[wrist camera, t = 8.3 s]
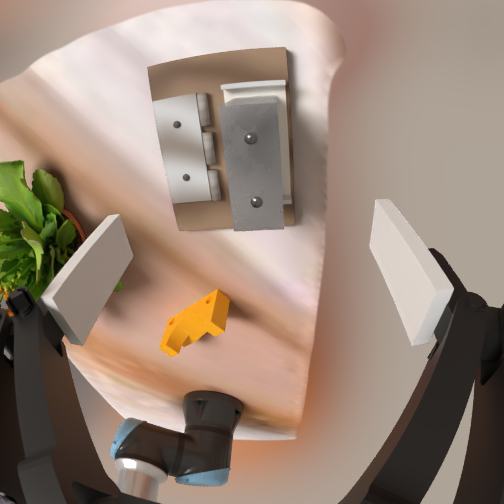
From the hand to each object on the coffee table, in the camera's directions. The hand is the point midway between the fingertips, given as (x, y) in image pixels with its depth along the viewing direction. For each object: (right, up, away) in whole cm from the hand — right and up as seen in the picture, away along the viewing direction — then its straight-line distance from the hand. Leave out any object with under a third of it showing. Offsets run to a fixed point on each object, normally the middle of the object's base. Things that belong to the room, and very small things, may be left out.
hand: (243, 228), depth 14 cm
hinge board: (-2, +10, +15) cm, 19 cm away
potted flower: (-29, +1, +24) cm, 37 cm away
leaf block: (+1, +10, +14) cm, 17 cm away
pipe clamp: (-8, -11, +31) cm, 34 cm away
